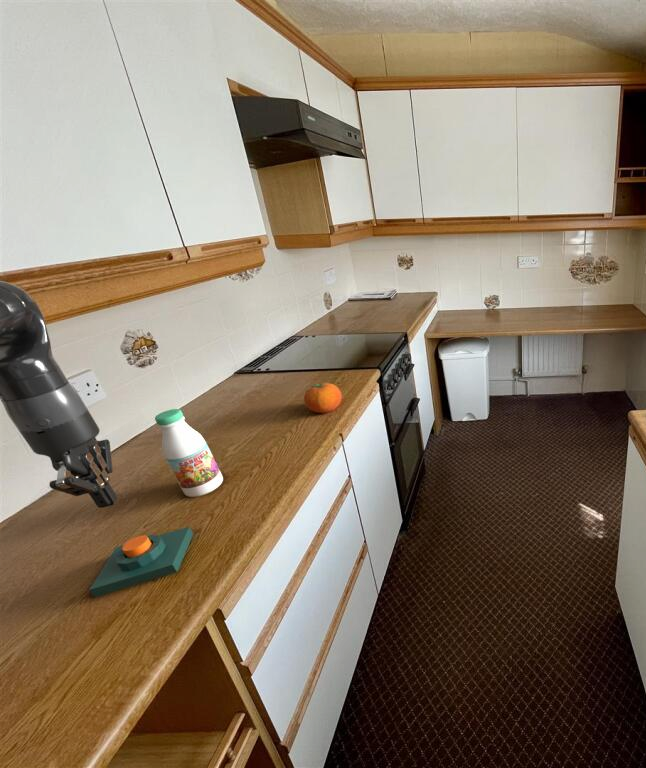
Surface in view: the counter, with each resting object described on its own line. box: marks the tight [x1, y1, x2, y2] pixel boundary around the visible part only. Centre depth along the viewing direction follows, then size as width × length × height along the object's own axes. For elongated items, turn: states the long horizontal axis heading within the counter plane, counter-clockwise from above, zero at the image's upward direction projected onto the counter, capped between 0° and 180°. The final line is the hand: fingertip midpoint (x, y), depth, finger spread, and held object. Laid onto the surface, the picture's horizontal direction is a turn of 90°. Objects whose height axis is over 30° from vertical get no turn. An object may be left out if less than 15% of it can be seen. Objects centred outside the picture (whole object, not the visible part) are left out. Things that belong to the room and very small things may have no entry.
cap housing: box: [88, 526, 194, 598], centre depth 75 cm, size 12×10×4 cm
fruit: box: [303, 382, 343, 414], centre depth 125 cm, size 11×10×8 cm
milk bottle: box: [154, 408, 224, 498], centre depth 91 cm, size 8×8×20 cm
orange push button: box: [122, 535, 152, 558], centre depth 74 cm, size 4×4×2 cm
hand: (109, 503), depth 69 cm, fingers closed
